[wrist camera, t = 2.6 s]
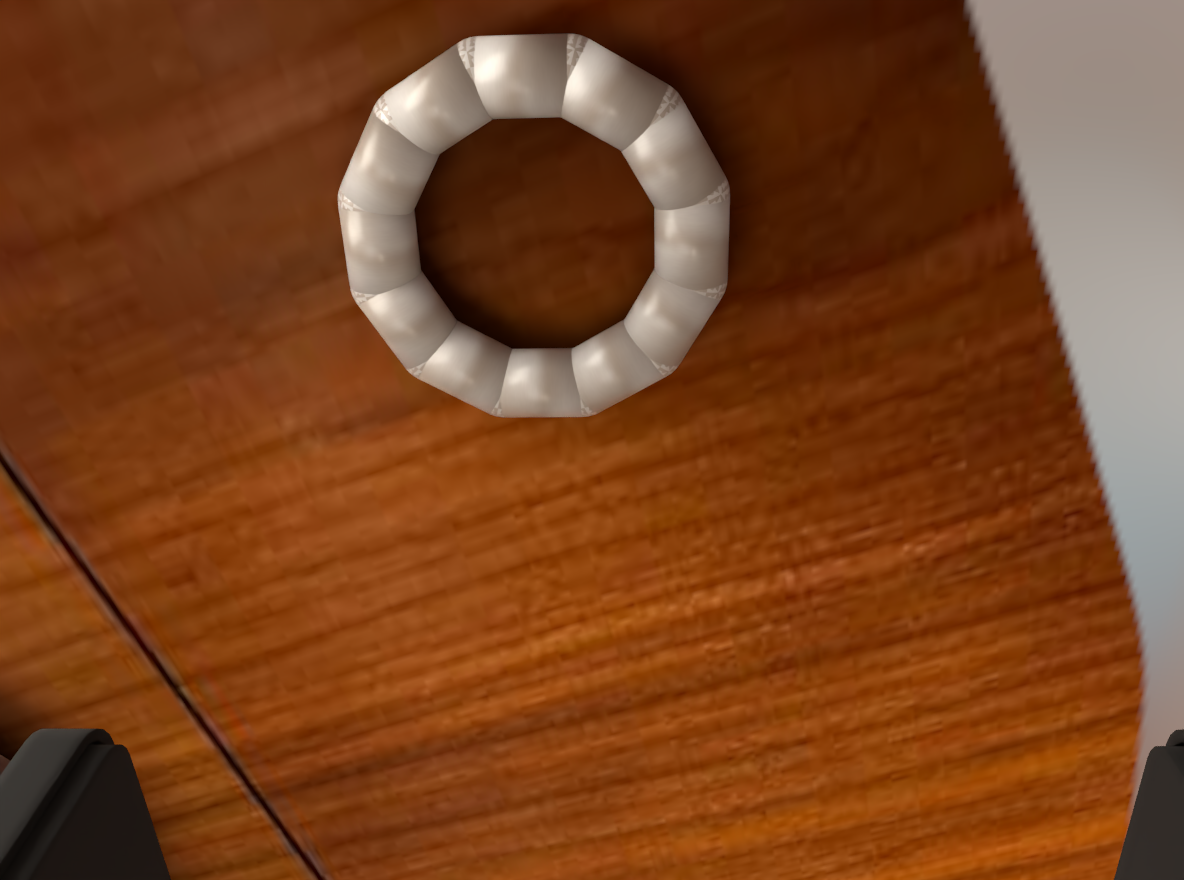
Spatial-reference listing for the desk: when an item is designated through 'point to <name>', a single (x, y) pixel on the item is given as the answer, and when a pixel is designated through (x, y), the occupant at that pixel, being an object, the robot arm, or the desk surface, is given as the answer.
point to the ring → (602, 108)
